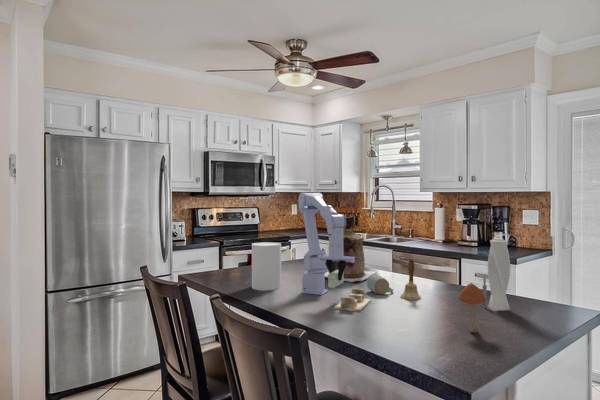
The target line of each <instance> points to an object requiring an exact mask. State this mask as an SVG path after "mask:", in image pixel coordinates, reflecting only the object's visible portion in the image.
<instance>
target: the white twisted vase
mask: <svg viewBox="0 0 600 400" xmlns="http://www.w3.org/2000/svg"><path fill="white" fill-rule="evenodd" d="M500 236H507V238H506V240H505V239H504V238H500ZM510 237H511V235H510V234H509V233H500V234H496V235H495V236H494V237H493V238H492V239H490V240H489V242H490V248H489V251H488V258H487V278H488V284H489V285H488V286H489V290H490V297H489V301H488V297H487V290H488V289H487V284H486V283H487V282H486V281H487V279H486V273H484V274H483V285H482V293H483V294H484V296H485V299H486V301H485V302H484V303H481V307H483V308H484V309H487V310H489V311H491V312H503V311H504V312H505V311H511V308H510V305H509V302H508V298H507V290H508V286H509V282H510V278H511V277H510V276H511V260H510V259H511V258H510V254H509V253H510V252H509V249H508V241H509V238H510Z"/></svg>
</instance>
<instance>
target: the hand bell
mask: <svg viewBox="0 0 600 400" xmlns="http://www.w3.org/2000/svg"><path fill="white" fill-rule="evenodd" d="M414 261H415V260H414V259H413V258H409V261H408V265H407V269H408V270H407V271H408V273H409V274H408V277H409V278H408V282H407V283H405V286H404V290H403V293H402V294H400V298H401V299H404V300H408V301H417V300H422V296H421V295H420V294H419V292H418V287H417V284H416V283H414V273H415V268H416V266H415V262H414Z"/></svg>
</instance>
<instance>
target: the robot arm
mask: <svg viewBox="0 0 600 400" xmlns="http://www.w3.org/2000/svg"><path fill="white" fill-rule="evenodd" d="M297 200H298V208H299V212H300V213H301V214H302V216H303V223H304V229H305V234H306V241H307V247H308V250H307V252H306V253H304V255H303V267H304V270H305V271H304V272H303V274H302V278H301V279H302V280H301V286H302V288H301V294H307V295H308V294H309V295H319V296H322V295H325V293H327V292H328V291H329V290H328V289H326V288H325V287H326V285H325V284H326V282H325V281H326V280H325V278H326V277H325V273H326V272H327V271H328V272H329V273H332V272H334V266H335V261H339V263H337V264H338V280H339V281H340V280H342V275H343V272H344V269H345V267H346V265H347V262H351V263H354V262H355V257H348V256H343V229H344V228H345V227H346V218H345V217H346V216H345V214H343V213H338V212H337V210H335V209H334V208H333V206H332V205H330V204H329V205H328V204H326V202H325V201H324V195H323V194H322V193H321V192H300V193H299V196H298V199H297ZM316 213H319V214H320V217H321V218H322V219H323V220H324V221H325V225H326V228H327V229H326V230H327V231H326V232H327V234H328V254H327V253H326V251H324V250H323V249H321V246H320V240H319V235H318V228H317V223H316V217H315V214H316ZM331 259H333V260H331Z"/></svg>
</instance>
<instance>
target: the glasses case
mask: <svg viewBox="0 0 600 400" xmlns="http://www.w3.org/2000/svg"><path fill="white" fill-rule="evenodd" d="M344 282H345V281H344V272H343V275H342V280H340V281H339V280H338V270H336V271H334V272H332V273H330V274H328V278H327V287H328V288H331V289H335V288H336V287H338V286H340V285H341V284H344Z"/></svg>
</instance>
